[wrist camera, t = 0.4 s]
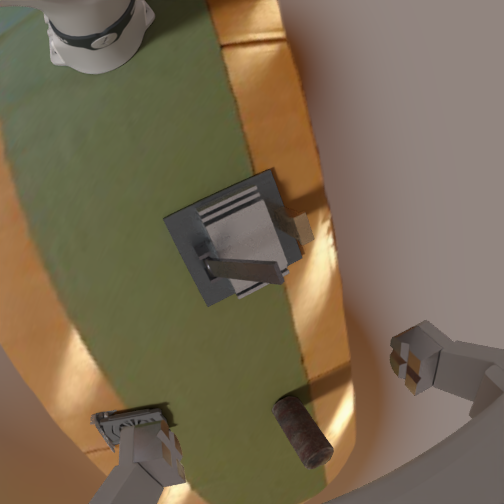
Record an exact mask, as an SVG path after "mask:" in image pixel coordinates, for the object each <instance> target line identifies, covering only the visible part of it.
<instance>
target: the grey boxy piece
mask: <svg viewBox="0 0 504 504" xmlns="http://www.w3.org/2000/svg"><path fill="white" fill-rule="evenodd" d="M163 220H164V222H165V224H166V226H167V228H168V230H169V232H170V234H171V236H172V238H173V240H174V242H175V244H176V246H177V248H178V250H179V252H180V254H181V256H182V258H183V260H184V262H185V264H186V266H187V268H188V270H189V272H190V274H191V276H192V278H193V280H194V282H195V284H196V285H197V287H198V289H199V291H200V293H201V295H202V297H203V299H204V301H205V302H206V304H207V306H208V307H209V306H211V305H213V304H215V303H217V302H219V301H221V300H223V299H225V298H227V297H229V296H230V295H232V294H234V293H235V294H236V295H237V297H238V298H239V299H241V298H243V297H245V296H247V295H248V294H250V293H252V292H254V291H256V290H258V289H260V288H262V287H264V286H266V285H268V284H270V283H262V282H254V281H245V280H237V279H229V278H221V277H213V278H212V277H211V276H210V274H209V272H208V270H207V268H206V266H205V264H204V262H203V259H204V258H206V257H208V256H210V258H225V259H243V260H261V261H277V263H278V265H279V268H280V271H281V273H282V276H285V275H287V274H289V270H288V269H287V266H288V265H290V264H292V263H294V262H296V261H298V260H300V259H302V255H301V252H300V250H299V247H298V244H297V241H296V239H297V240H298V241H299V242H300V244H301V245H305V244H307V243H309V242H311V241H313V240H314V236H313V233H312V230H311V227H310V224H309V221H308V218H307V215H306V212H303V211H302V212H297V211H295V210H292V209H290V208H287V207H284V205H283V202H282V199H281V197H280V194H279V191H278V188H277V186H276V183H275V180H274V178H273V175H272V172H271V170H269V169H268V170H266V171H263V172H261V173H259V174H257V175H254V176H252V177H250V178H247V179H245V180H243V181H241V182H239V183H236V184H234V185H232V186H230V187H227V188H225V189H223V190H221V191H219V192H217V193H214V194H212V195H210V196H208V197H206V198H204V199H202V200H200V201H197V202H195V203H193V204H191V205H189V206H187V207H185V208H183V209H181V210H179V211H177V212H175V213H173V214H171V215H169V216H167V217H165V218H163Z"/></svg>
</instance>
